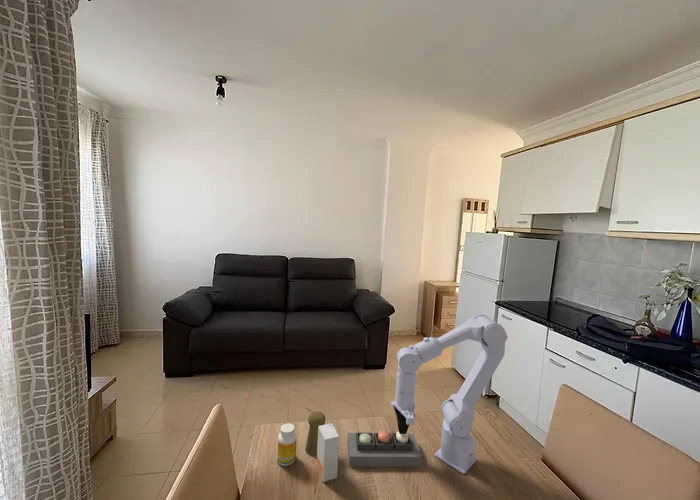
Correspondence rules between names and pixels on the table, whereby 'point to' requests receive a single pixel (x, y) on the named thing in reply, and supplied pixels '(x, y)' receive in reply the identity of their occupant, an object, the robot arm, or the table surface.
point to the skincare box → (327, 452)
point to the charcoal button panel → (383, 452)
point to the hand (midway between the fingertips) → (402, 432)
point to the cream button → (402, 438)
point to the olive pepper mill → (314, 432)
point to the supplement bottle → (286, 445)
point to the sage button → (365, 438)
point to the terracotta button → (383, 437)
